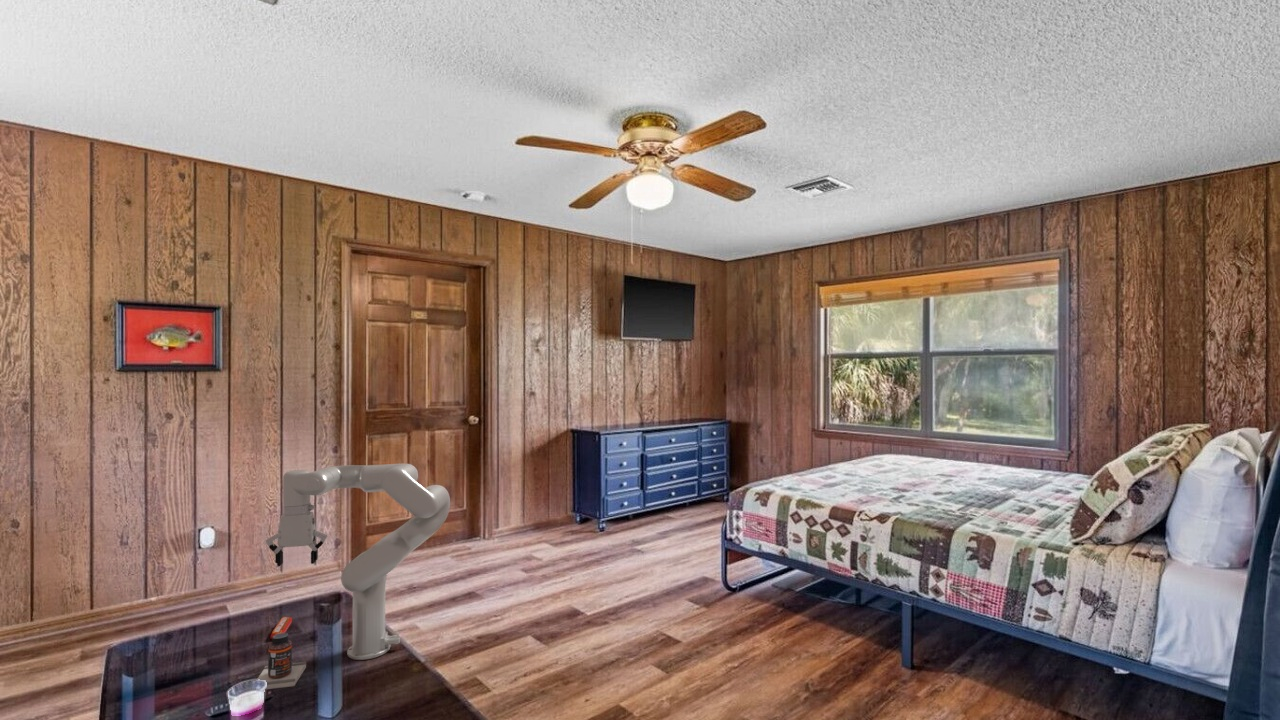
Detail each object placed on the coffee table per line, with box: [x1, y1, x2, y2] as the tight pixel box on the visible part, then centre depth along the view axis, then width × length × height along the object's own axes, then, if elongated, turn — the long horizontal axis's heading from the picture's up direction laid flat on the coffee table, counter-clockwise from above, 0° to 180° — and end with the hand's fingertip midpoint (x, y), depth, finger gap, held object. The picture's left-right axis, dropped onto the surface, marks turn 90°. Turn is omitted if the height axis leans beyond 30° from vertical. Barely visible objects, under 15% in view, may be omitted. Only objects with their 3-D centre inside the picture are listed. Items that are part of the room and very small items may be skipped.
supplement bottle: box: [267, 632, 293, 679], centre depth 176 cm, size 6×6×11 cm
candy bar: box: [270, 616, 293, 640], centre depth 208 cm, size 16×4×3 cm, turn 17°
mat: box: [255, 661, 307, 690], centre depth 176 cm, size 11×11×2 cm
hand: (296, 563), depth 192 cm, fingers open, 9 cm apart
